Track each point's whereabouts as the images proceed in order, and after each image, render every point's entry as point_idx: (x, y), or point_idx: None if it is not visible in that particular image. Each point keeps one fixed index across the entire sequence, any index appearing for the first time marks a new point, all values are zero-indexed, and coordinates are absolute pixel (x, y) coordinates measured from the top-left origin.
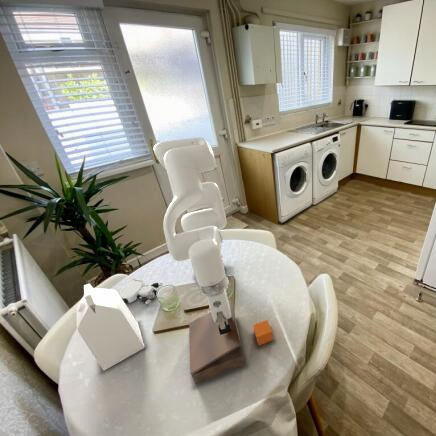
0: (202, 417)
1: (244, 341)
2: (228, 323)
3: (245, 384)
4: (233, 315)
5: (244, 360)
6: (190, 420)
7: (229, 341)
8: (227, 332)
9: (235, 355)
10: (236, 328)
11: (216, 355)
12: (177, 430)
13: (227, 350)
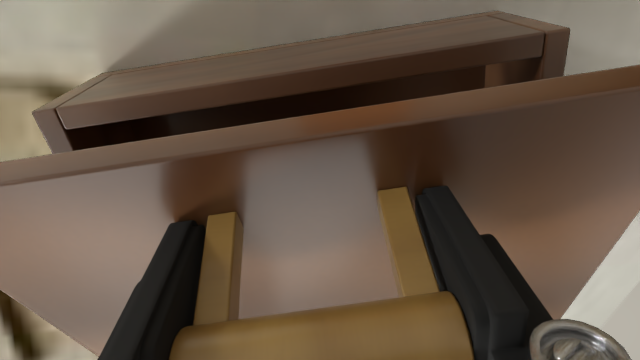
0: (632, 230)
1: (310, 6)
2: (522, 306)
3: (616, 20)
4: (208, 158)
5: (524, 17)
6: (612, 270)
7: (559, 192)
8: (485, 235)
9: (417, 82)
10: (461, 119)
11: (574, 272)
12: (616, 304)
13: (634, 205)
